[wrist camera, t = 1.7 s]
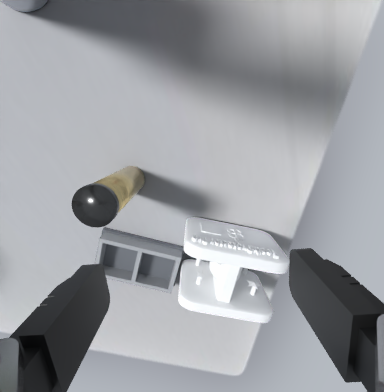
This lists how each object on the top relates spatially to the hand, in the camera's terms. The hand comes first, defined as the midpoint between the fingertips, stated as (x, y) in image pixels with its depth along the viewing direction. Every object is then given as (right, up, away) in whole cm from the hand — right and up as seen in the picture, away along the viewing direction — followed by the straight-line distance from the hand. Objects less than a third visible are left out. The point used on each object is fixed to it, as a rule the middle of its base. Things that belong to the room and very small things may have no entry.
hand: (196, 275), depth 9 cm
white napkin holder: (+5, -6, +32) cm, 33 cm away
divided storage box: (-10, -8, +32) cm, 34 cm away
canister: (-10, +6, +28) cm, 30 cm away
